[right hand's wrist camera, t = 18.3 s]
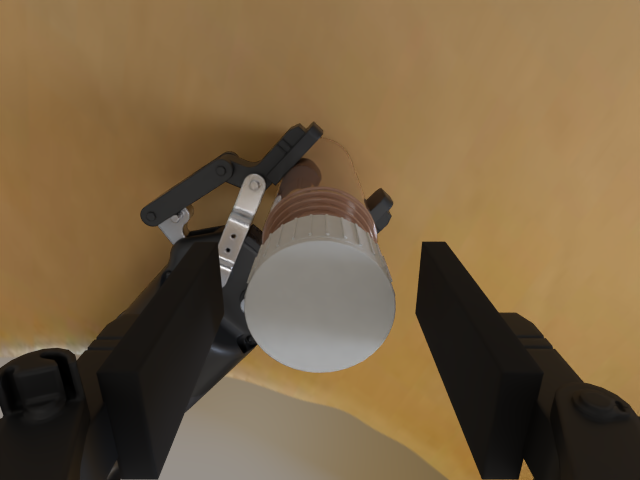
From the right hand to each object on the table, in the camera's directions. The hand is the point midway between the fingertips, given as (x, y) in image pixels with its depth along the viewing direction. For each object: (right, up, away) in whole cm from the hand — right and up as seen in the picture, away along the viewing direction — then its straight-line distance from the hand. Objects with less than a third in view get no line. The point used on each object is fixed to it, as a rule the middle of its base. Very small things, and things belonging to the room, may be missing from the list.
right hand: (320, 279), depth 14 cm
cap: (0, -1, -2) cm, 2 cm away
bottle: (0, +6, +16) cm, 17 cm away
